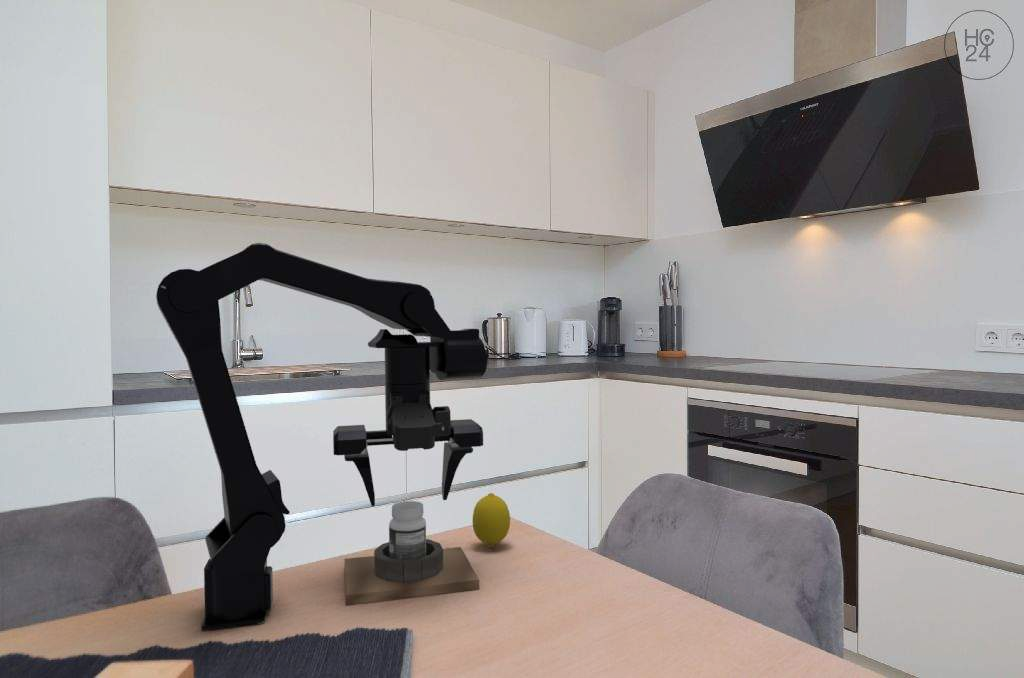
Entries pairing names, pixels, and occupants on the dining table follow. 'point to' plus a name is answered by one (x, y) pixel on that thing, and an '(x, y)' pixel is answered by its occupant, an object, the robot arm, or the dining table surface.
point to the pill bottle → (407, 531)
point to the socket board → (408, 575)
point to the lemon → (491, 519)
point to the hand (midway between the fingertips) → (409, 502)
